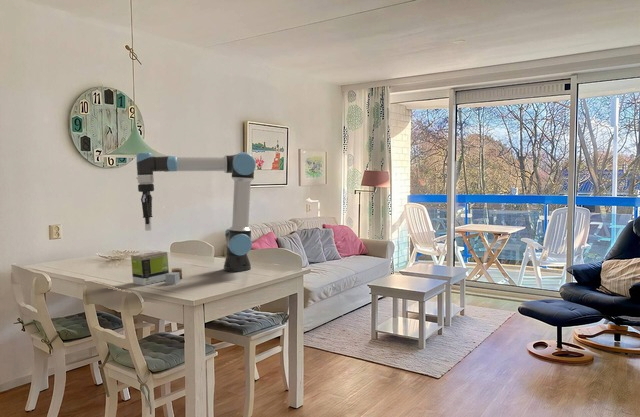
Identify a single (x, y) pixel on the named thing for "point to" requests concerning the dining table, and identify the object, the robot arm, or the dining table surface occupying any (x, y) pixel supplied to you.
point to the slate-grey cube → (172, 278)
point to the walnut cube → (178, 271)
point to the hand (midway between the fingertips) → (148, 230)
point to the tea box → (149, 267)
